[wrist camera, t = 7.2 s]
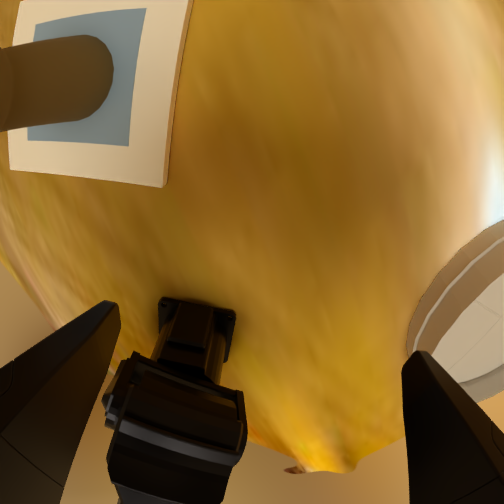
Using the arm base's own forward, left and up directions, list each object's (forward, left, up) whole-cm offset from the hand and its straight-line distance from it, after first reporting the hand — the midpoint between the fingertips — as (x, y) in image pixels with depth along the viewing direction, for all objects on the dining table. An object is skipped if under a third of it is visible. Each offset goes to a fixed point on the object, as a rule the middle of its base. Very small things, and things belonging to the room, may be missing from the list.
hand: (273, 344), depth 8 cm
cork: (+6, +14, -12) cm, 19 cm away
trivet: (+6, +14, -13) cm, 20 cm away
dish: (-7, -25, -14) cm, 30 cm away
